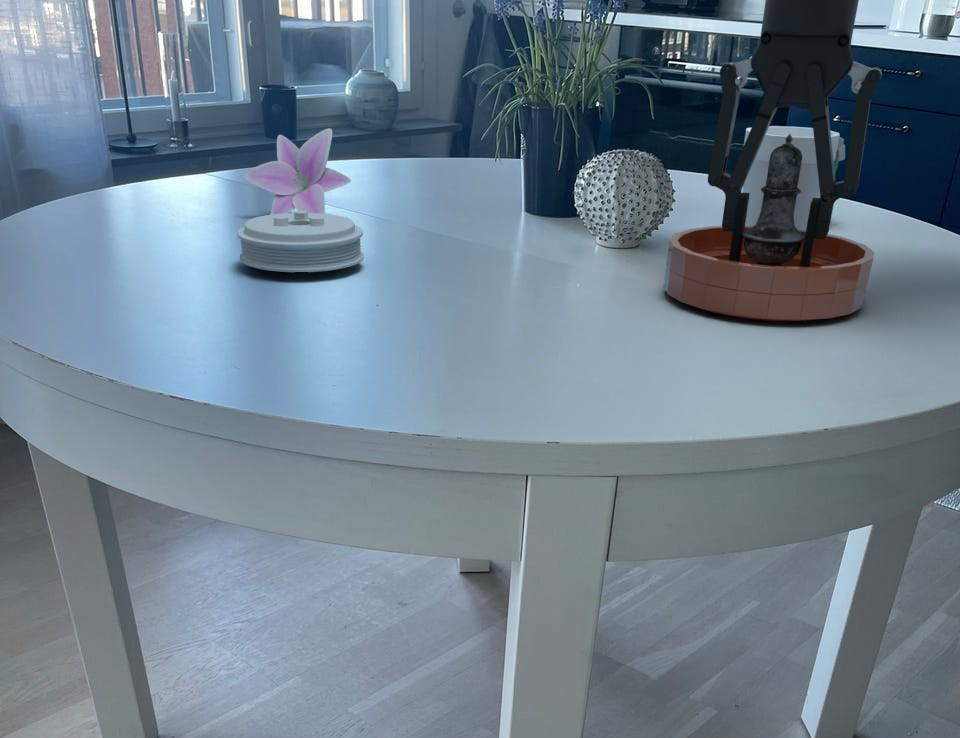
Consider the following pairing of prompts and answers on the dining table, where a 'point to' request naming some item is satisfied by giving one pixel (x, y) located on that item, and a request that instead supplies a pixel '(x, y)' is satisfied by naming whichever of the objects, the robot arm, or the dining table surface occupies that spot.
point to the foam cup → (807, 176)
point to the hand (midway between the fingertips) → (767, 270)
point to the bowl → (767, 278)
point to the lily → (299, 175)
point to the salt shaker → (777, 211)
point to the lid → (300, 242)
